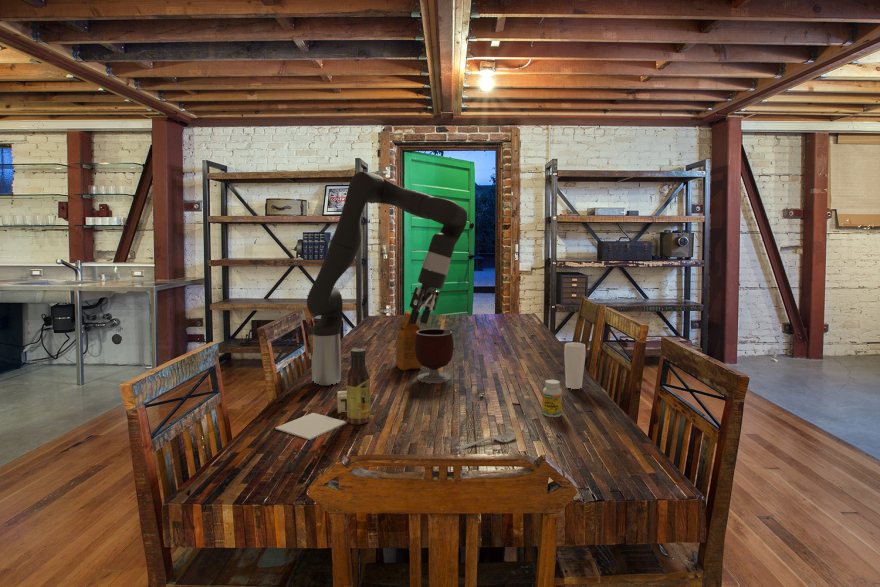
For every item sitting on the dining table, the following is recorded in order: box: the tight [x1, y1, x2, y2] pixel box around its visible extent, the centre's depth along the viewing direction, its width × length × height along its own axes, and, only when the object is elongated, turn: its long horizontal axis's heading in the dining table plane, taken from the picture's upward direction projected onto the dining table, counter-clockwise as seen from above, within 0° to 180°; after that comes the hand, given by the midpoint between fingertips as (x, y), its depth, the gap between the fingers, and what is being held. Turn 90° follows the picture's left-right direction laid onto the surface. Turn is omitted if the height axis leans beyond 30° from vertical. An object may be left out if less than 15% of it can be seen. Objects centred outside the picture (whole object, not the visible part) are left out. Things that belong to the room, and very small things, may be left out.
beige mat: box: [274, 412, 348, 441], centre depth 125 cm, size 13×13×1 cm
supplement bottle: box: [541, 379, 563, 418], centre depth 133 cm, size 5×5×10 cm
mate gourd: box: [415, 324, 458, 384], centre depth 168 cm, size 16×14×20 cm
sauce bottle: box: [346, 348, 371, 426], centre depth 127 cm, size 6×6×20 cm
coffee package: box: [395, 310, 423, 371], centre depth 184 cm, size 10×12×22 cm
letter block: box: [336, 390, 347, 414], centre depth 137 cm, size 5×5×5 cm
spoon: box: [456, 432, 517, 450], centre depth 113 cm, size 4×21×2 cm, turn 113°
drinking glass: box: [563, 341, 586, 390], centre depth 157 cm, size 7×7×15 cm
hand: (417, 323), depth 136 cm, fingers open, 8 cm apart
